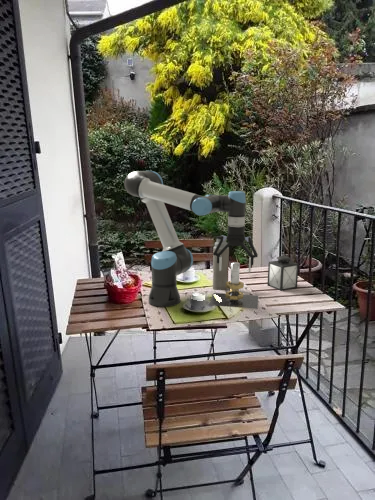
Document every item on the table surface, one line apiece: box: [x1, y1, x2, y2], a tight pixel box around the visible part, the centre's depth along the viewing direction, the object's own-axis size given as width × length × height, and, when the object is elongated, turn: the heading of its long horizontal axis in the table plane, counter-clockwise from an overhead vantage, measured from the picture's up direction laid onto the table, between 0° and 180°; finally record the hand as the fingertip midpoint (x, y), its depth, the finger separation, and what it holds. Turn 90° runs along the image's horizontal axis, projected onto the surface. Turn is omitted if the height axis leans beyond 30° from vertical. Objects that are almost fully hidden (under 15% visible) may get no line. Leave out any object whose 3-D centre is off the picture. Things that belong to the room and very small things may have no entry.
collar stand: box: [208, 280, 259, 309], centre depth 193 cm, size 22×18×10 cm
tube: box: [229, 261, 241, 302], centre depth 192 cm, size 4×4×18 cm
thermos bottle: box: [212, 235, 230, 292], centre depth 213 cm, size 8×8×28 cm
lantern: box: [267, 235, 299, 292], centre depth 217 cm, size 11×11×28 cm
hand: (234, 270), depth 191 cm, fingers open, 13 cm apart
